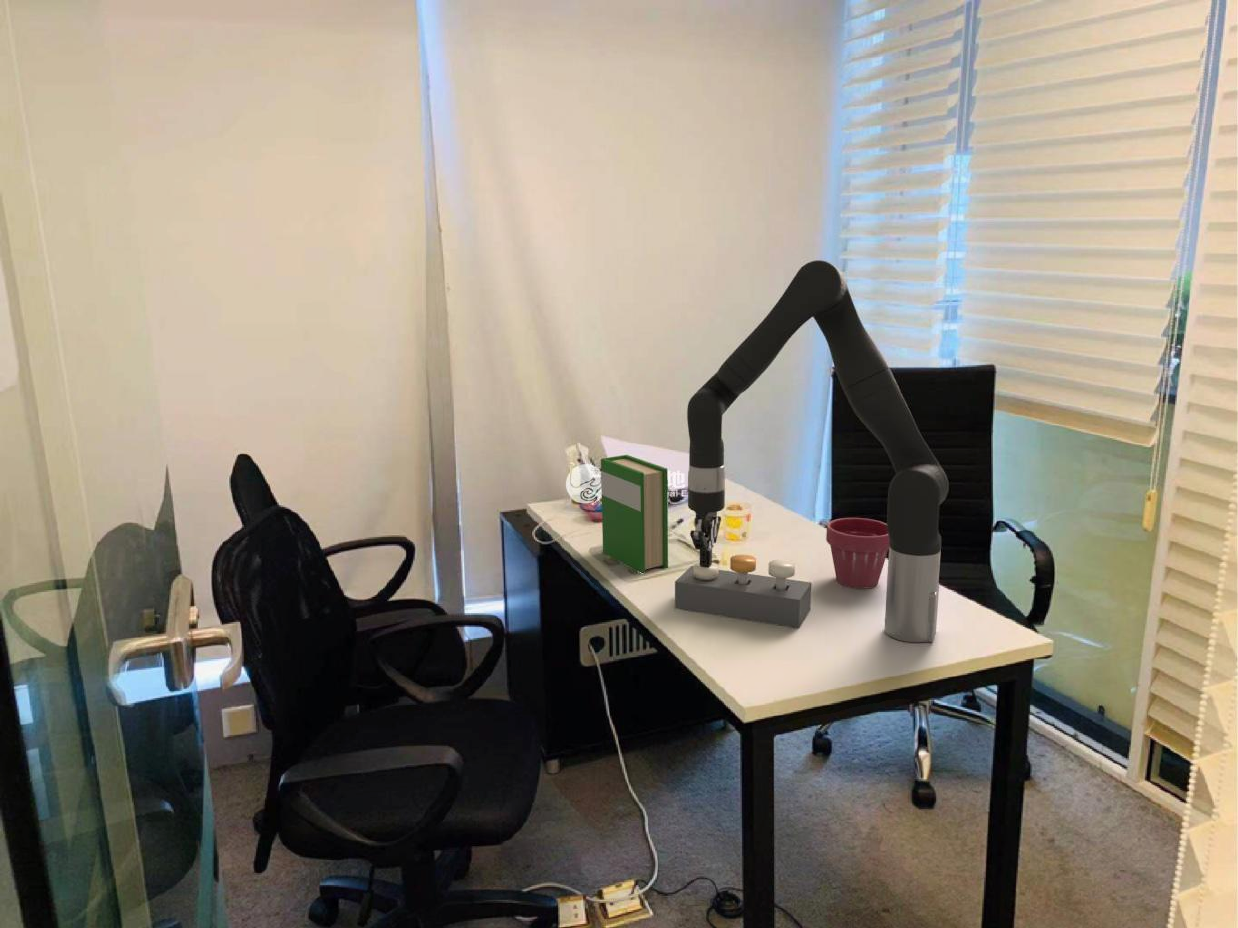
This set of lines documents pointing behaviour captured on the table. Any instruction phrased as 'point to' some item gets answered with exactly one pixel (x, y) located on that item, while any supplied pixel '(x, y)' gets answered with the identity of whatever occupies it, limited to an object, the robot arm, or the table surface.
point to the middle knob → (743, 567)
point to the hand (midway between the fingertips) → (705, 566)
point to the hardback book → (635, 512)
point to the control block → (745, 598)
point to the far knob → (705, 571)
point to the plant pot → (858, 550)
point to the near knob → (781, 572)
